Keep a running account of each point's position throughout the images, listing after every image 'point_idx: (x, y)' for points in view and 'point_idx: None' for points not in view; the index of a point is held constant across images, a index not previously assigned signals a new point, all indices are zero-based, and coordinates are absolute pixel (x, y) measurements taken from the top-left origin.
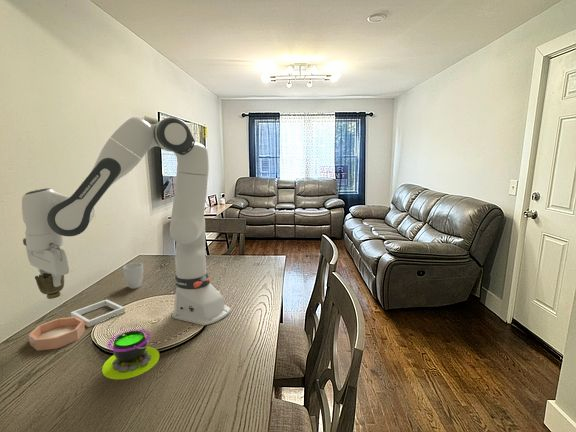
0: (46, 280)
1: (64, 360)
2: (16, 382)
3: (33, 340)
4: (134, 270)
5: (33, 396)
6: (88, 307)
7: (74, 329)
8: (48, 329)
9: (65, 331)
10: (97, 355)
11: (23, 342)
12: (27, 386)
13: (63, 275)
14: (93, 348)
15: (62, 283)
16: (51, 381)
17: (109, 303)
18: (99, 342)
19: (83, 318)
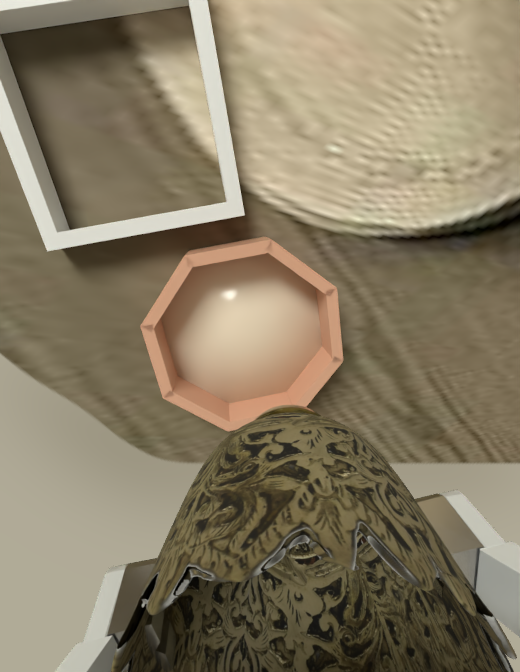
0: (434, 662)
1: (423, 341)
2: (420, 444)
3: None
4: None
5: (514, 419)
6: (28, 151)
7: (326, 294)
8: (170, 356)
9: (230, 305)
10: (489, 256)
11: (189, 421)
12: (461, 426)
13: (393, 515)
14: (433, 252)
15: (385, 461)
16: (494, 383)
17: (38, 9)
18: (411, 221)
19: (183, 220)
